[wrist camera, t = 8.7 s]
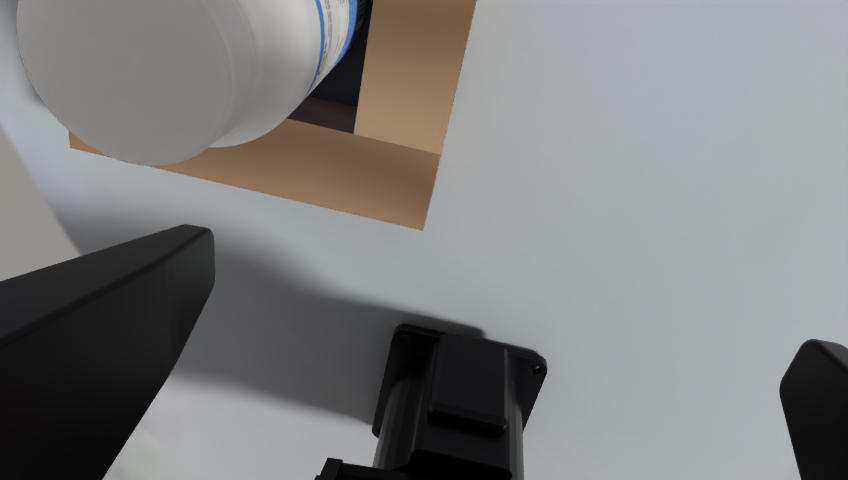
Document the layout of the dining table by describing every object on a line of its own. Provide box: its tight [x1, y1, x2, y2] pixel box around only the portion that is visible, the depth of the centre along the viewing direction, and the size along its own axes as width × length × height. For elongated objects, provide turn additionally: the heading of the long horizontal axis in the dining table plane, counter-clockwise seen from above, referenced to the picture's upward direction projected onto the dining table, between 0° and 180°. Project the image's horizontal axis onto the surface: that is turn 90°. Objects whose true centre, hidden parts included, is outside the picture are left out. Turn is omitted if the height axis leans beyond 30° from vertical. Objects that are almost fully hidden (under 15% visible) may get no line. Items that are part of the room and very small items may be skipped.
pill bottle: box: [16, 0, 367, 166], centre depth 15 cm, size 6×5×10 cm
